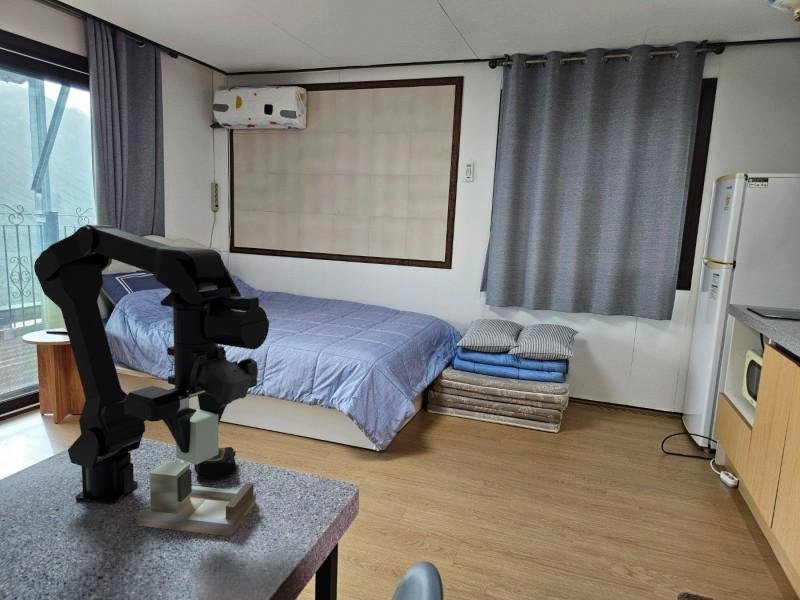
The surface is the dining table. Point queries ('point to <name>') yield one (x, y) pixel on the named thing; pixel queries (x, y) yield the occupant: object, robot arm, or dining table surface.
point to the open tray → (193, 503)
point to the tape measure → (218, 465)
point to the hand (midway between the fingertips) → (197, 446)
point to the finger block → (201, 438)
